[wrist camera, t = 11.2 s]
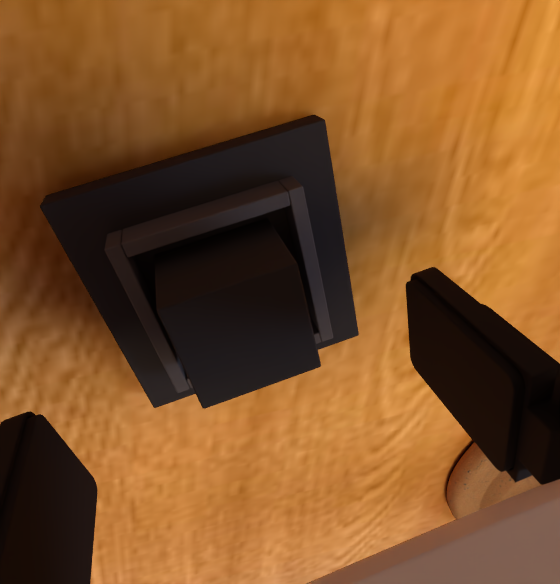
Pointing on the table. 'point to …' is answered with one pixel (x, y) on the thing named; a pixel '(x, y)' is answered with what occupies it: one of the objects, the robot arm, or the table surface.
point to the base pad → (205, 235)
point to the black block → (235, 312)
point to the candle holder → (481, 484)
